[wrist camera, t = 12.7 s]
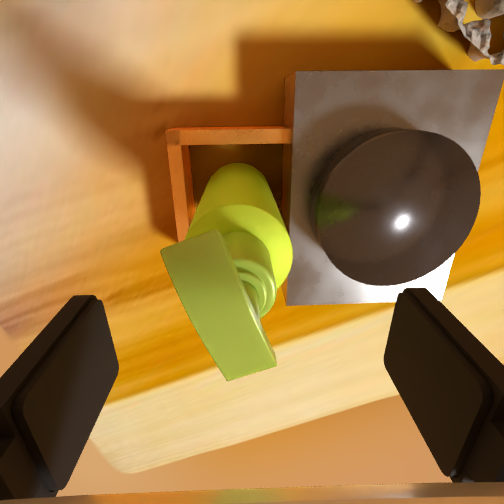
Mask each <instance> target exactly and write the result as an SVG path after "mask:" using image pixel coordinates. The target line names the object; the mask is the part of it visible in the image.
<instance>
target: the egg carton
mask: <svg viewBox="0 0 504 504" xmlns="http://www.w3.org/2000/svg"><path fill="white" fill-rule="evenodd" d="M413 1H414V2H415V3H418V2H419V3H420V2H421V1H422V0H413ZM438 1H439V3H440V5H441V18H440V21H439V23H438V26H439V27H440V28H442V29H444V30H445V31H447V32H455V31H456V30H459V29H461V31H462V33H463V35H464V37H466V38H467V39H468V40H469V41H470V42H471V43H470V48H469V50H468V52H467V55H468V56H469V58H471V59H472V60H473V61H478V60H480V59H483V58H487V59H490V60H491V63H492V64H493V65H496V64H502V65H504V49H503V50H502V51H501V52H499V53H495V54H491V55H489V53H488V51H487V50H488V49H489V48H490V45H489V43H490V39H491V36H492V35H491V32H490V24H491V21H490V20H488V19H491V18H493V17H496V16H499V15H502V14H504V0H475V10H476V13H477V15H478V16H479V17H480V18H482V19H484V20H479V21H472V22H469V23H467V24H464V25H463V19H464V17H465V14H466V10H467V5H468V2H466V1H463V0H438ZM503 40H504V31H503Z"/></svg>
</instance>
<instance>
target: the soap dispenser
mask: <svg viewBox="0 0 504 504" xmlns="http://www.w3.org/2000/svg"><path fill="white" fill-rule="evenodd" d="M160 252H161V255H162V258H163V261H164V263H165V266H166V268H167V270H168V273H169V275H170V277H171V280H172V282H173V284H174V287H175V289H176V291H177V293H178V295H179V298H180V300H181V302H182V304H183V306H184V308H185V310H186V312H187V314H188V316H189V318H190V320H191V322H192V324H193V325H194V327H195V329H196V331H197V333H198V334H199V336H200V338H201V340H202V341H203V343H204V345H205V346H206V348H207V350H208V351H209V353H210V355H211V356H212V358H213V359H214V361H215V363H216V364H217V366H218V367H219V369H220V371H221V372H222V374H223V375H224V377H225V378H226V380H227V381H230V380H233V379H236V378H240V377H243V376H246V375H249V374H253V373H256V372H259V371H262V370H266V369H269V368H272V367H275V366H277V363H276V356H275V353H274V351H273V349H272V346H271V344H270V342H269V340H268V338H267V336H266V334H265V331H264V329H263V327H262V325H261V321H260V318H262V317H263V316H264V315H266V314H267V313H268V312H269V310H270V309H271V308H272V306H273V304H274V302H275V299H276V292H277V289H278V288H279V287H280V286H281V285H282V283H283V282H284V281H285V279H286V278H287V276H288V274H289V271H290V269H291V265H292V260H293V248H292V243H291V240H290V237H289V234H288V232H287V229H286V227H285V224H284V222H283V219H282V217H281V214H280V212H279V209H278V207H277V204H276V202H275V199H274V197H273V194H272V192H271V189H270V187H269V184H268V182H267V180H266V178H265V177H264V175H263V174H262V173H261V172H260V171H259V170H257V169H256V168H254V167H253V166H250V165H248V164H244V163H231V164H227V165H225V166H223V167H221V168H219V169H218V170H217V171H215V172H214V174H213V175H212V176H211V177H210V179H209V181H208V183H207V186H206V188H205V190H204V193H203V195H202V198H201V200H200V203H199V205H198V207H197V210H196V212H195V215H194V217H193V219H192V222H191V224H190V227H189V229H188V232H187V234H186V236H185V239H184V241H181V242H179V243H176V244H173V245H171V246H168V247H165V248H163V249H161V251H160Z"/></svg>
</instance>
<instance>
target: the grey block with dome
mask: <svg viewBox="0 0 504 504" xmlns="http://www.w3.org/2000/svg"><path fill="white" fill-rule="evenodd" d="M503 80H504V70H383V71H295V72H294V73H292V74H291V75H289V76H288V77H286V78H285V96H284V126H254V127H185V128H172V129H169V130H165V134H166V142H167V151H168V159H169V168H170V176H171V185H172V193H173V202H174V210H175V219H176V227H177V236H178V243H179V242H181V241H184V239H185V236H186V234H187V232H188V229H189V227H190V224H191V222H192V219H193V217H194V215H195V207H194V196H193V185H192V173H191V162H190V151H189V145H217V144H277V143H283V167H282V203H281V217H282V219H283V222H284V224H285V227H286V229H287V232H288V234H289V237H290V240H291V243H292V248H293V260H292V265H291V269H290V271H289V274H288V276H287V278H286V279H285V281H284V282H283V283H282V285H281V286H282V290H283V294H284V298H285V302H286V306H292V305H321V304H349V303H378V302H396V299H397V296H398V294H399V293H400V292H403V290H404V289H405V288H417V287H424V288H426V289H428V290H429V291H430V292H431V293H432V294H433V295H434V296H435V297H436V298H437V299H438V300H442V297H443V293H444V290H445V286H446V283H447V279H448V276H449V272H450V268H451V265H452V261H453V258H454V254H455V252H456V251H457V250H458V249H459V248H460V246H461V245H462V244H463V242H464V241H465V239H466V238H467V236H468V235H469V233H470V231H471V229H472V227H473V225H474V222H475V219H476V217H477V213H478V209H479V205H480V195H481V192H480V181H479V176H478V169H479V165H480V162H481V158H482V155H483V151H484V148H485V144H486V141H487V137H488V133H489V130H490V126H491V123H492V119H493V116H494V112H495V109H496V105H497V101H498V98H499V94H500V91H501V87H502V84H503Z"/></svg>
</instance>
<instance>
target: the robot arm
mask: <svg viewBox="0 0 504 504" xmlns="http://www.w3.org/2000/svg"><path fill="white" fill-rule="evenodd" d="M384 365H385V368H386V370H387V372H388V373H389V375H390V377H391V379H392V381H393V383H394V385H395V386H396V388H397V390H398V392H399V394H400V396H401V397H402V399H403V401H404V403H405V405H406V407H407V408H408V410H409V412H410V414H411V416H412V418H413V420H414V422H415V423H416V425H417V427H418V429H419V431H420V433H421V435H422V436H423V438H424V440H425V442H426V444H427V446H428V447H429V449H430V451H431V453H432V455H433V457H434V458H435V460H436V462H437V464H438V466H439V468H440V470H441V471H442V473H443V474H444V475H445V476H447V477H448V476H450V478H451V480H452V482H453V483H413V484H382V485H381V484H379V485H346V486H313V487H284V488H259V489H258V488H256V489H228V490H202V491H178V492H177V491H176V492H151V493H128V494H102V495H81V496H63V497H56V495H57V492H58V490H62V489H64V488H65V486H66V485H67V483H68V481H69V479H70V477H71V475H72V472H73V470H74V468H75V466H76V463H77V462H78V459H79V457H80V455H81V453H82V451H83V449H84V446H85V444H86V442H87V440H88V438H89V436H90V433H91V431H92V429H93V427H94V425H95V423H96V421H97V418H98V416H99V414H100V412H101V410H102V408H103V405H104V403H105V401H106V399H107V397H108V395H109V392H110V390H111V388H112V386H113V384H114V382H115V379H116V377H117V375H118V370H119V364H118V360H117V356H116V352H115V348H114V344H113V341H112V337H111V333H110V329H109V325H108V321H107V317H106V313H105V309H104V306H103V302H102V301H101V300H97V298H96V296H94V295H76V296H73V297H72V298H71V299H70V300H69V301H68V302H67V303H66V304H65V305H64V307H63V308H62V309H61V310H60V311H59V312H58V313H57V314H56V316H55V317H54V318H53V319H52V320H51V321H50V322H49V324H48V325H47V326H46V327H45V328H44V329H43V330H42V331H41V333H40V334H39V335H38V336H37V337H36V338H35V339H34V340H33V342H32V343H31V344H30V345H29V346H28V347H27V348H26V349H25V351H24V352H23V353H22V354H21V355H20V356H19V357H18V359H17V360H16V361H15V362H14V363H13V364H12V365H11V366H10V368H9V369H8V370H7V371H6V372H5V373H4V374H3V375H2V377H1V378H0V504H504V365H503V364H502V363H501V362H500V361H499V360H498V359H497V358H496V357H495V356H494V355H493V354H492V353H491V352H490V351H489V350H488V349H487V348H486V347H485V346H484V345H483V344H482V343H481V342H480V341H479V340H478V339H477V338H476V337H475V336H474V335H473V334H472V333H471V332H470V331H469V330H468V329H467V328H466V327H465V326H464V325H463V324H462V323H461V322H460V321H459V320H458V319H457V318H456V317H455V316H454V315H453V314H452V313H451V312H450V311H449V310H448V309H447V308H446V307H445V306H444V305H443V304H442V303H441V302H440V301H439V300H438V299H437V298H436V297H435V296H434V295H433V294H432V293H431V292H430V291H429V290H428V289H426V288H424V287H417V288H405V289H404V290H403V292H400V293H399V294H398V296H397V299H396V304H395V308H394V313H393V317H392V322H391V326H390V331H389V336H388V340H387V345H386V349H385V354H384Z"/></svg>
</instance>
